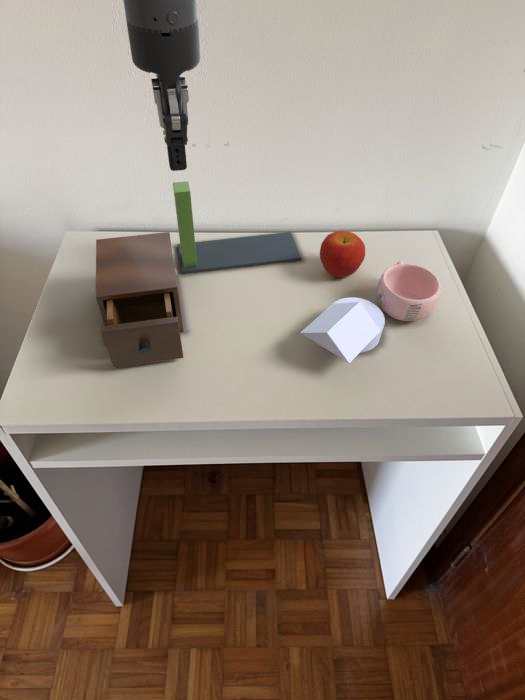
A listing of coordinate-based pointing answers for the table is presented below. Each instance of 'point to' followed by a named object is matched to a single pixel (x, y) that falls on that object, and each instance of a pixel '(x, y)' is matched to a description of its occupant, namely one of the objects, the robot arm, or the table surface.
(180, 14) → the robot arm
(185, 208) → the long green square beam
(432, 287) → the mug
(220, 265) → the mat
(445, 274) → the table surface
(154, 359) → the drawer
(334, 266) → the apple
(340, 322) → the wedge on round base
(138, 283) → the cabinet
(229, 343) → the table surface
